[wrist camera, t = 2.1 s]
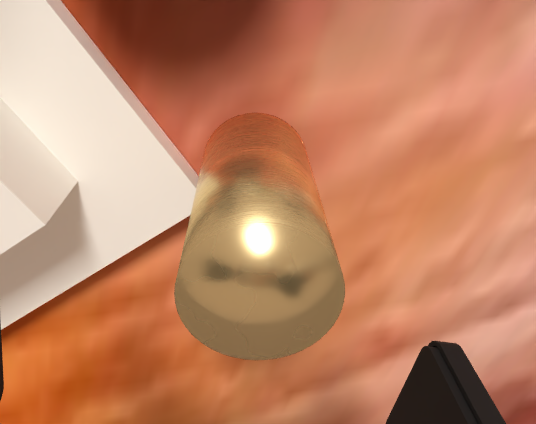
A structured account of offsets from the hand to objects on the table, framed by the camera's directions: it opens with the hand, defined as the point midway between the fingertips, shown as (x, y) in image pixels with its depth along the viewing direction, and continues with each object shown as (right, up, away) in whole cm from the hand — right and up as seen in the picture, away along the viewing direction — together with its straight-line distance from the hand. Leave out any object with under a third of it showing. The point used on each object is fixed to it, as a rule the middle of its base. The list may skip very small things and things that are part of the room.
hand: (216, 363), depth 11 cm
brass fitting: (+1, +5, +10) cm, 11 cm away
